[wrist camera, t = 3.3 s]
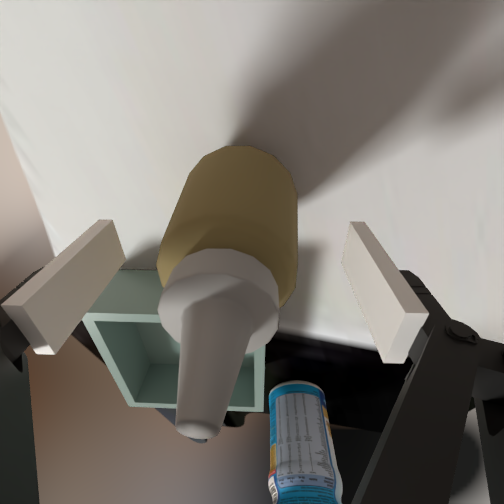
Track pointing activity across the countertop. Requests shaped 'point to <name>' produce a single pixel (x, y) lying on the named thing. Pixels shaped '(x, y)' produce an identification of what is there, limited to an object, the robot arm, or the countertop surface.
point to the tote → (154, 346)
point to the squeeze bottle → (225, 275)
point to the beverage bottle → (301, 446)
